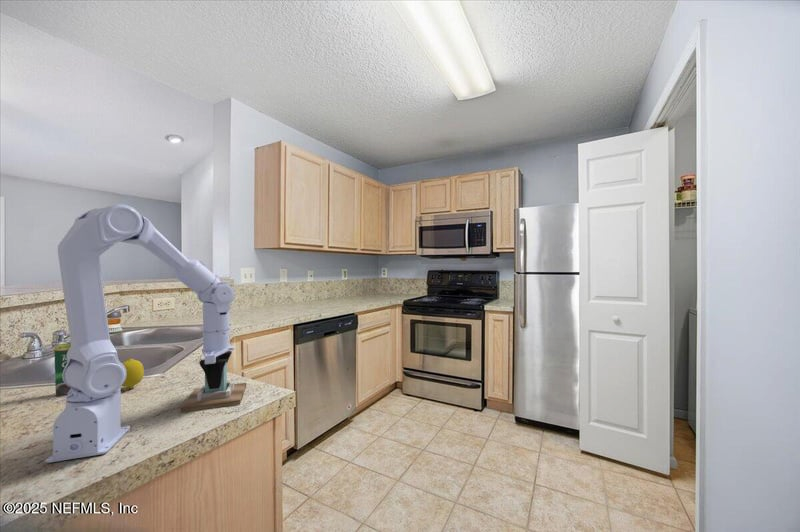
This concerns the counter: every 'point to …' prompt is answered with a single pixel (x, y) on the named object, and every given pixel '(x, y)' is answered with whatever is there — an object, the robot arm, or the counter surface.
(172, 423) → the counter surface
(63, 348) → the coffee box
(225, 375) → the square peg
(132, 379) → the lemon
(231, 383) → the socket
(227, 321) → the robot arm
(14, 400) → the counter surface
